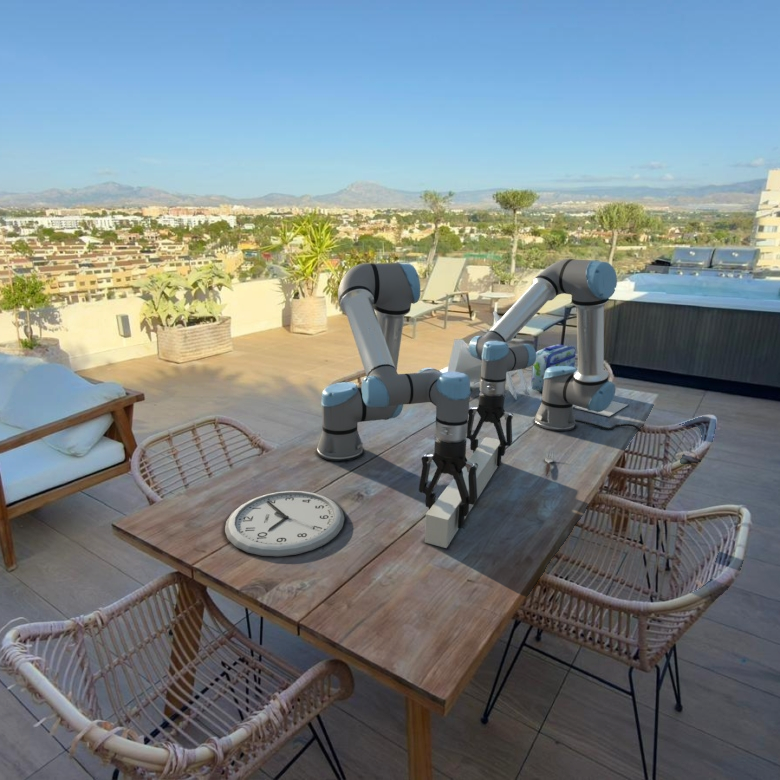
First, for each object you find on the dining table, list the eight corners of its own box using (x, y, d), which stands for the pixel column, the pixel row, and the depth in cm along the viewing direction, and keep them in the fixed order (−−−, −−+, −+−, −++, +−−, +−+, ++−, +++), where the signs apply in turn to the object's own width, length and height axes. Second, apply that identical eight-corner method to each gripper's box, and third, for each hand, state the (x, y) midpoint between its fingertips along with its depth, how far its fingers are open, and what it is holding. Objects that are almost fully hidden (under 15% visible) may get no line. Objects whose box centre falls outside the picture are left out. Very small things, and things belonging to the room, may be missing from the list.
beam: (483, 458, 173) (485, 437, 171) (500, 462, 171) (502, 440, 169) (424, 542, 127) (425, 514, 124) (446, 548, 125) (448, 519, 122)
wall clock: (344, 547, 121) (211, 552, 118) (344, 554, 121) (212, 558, 119) (344, 486, 149) (237, 489, 147) (344, 491, 150) (237, 494, 147)
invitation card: (608, 416, 214) (573, 407, 224) (608, 416, 214) (573, 408, 224) (628, 404, 229) (594, 396, 238) (628, 405, 229) (594, 397, 238)
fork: (541, 476, 161) (542, 470, 161) (545, 456, 176) (546, 450, 175) (550, 477, 161) (551, 471, 160) (553, 457, 175) (554, 451, 174)
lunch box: (547, 397, 237) (552, 352, 231) (526, 391, 245) (531, 348, 238) (574, 386, 255) (580, 344, 249) (554, 381, 262) (559, 340, 256)
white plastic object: (461, 429, 252) (437, 405, 227) (444, 352, 274) (420, 323, 250) (535, 404, 240) (518, 377, 215) (510, 326, 262) (492, 293, 237)
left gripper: (406, 435, 125) (403, 519, 132) (487, 450, 117) (480, 539, 124) (417, 425, 131) (414, 506, 138) (496, 439, 123) (488, 524, 130)
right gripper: (456, 391, 159) (452, 460, 166) (522, 401, 151) (515, 473, 158) (464, 385, 165) (459, 451, 172) (527, 394, 157) (520, 463, 164)
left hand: (446, 521), depth 131 cm, fingers open, 7 cm apart
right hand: (486, 461), depth 165 cm, fingers open, 7 cm apart
